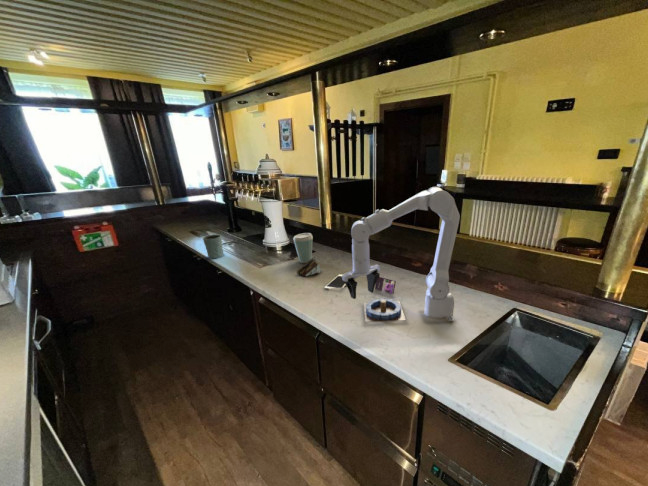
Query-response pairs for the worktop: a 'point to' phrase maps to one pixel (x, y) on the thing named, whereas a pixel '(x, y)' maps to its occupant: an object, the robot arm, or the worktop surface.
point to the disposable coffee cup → (304, 246)
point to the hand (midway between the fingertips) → (362, 294)
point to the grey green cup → (213, 246)
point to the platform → (383, 309)
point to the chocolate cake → (309, 268)
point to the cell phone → (336, 283)
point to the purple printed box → (388, 286)
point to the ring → (383, 315)
